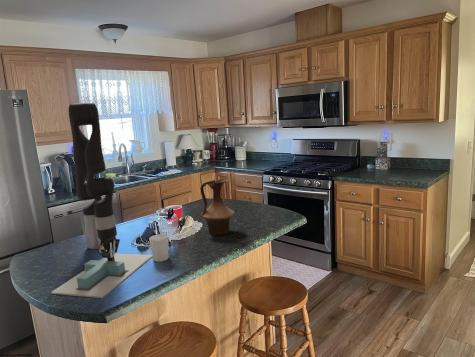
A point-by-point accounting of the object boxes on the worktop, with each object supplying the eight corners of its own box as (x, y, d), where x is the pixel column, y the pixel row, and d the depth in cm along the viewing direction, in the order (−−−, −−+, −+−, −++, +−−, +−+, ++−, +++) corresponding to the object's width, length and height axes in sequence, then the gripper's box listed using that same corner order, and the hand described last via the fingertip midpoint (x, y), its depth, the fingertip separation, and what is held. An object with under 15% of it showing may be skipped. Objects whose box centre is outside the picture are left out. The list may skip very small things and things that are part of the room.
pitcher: (208, 240, 181) (203, 184, 176) (197, 230, 196) (192, 179, 191) (240, 233, 188) (237, 179, 182) (228, 224, 203) (224, 174, 198)
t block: (64, 287, 140) (63, 277, 139) (91, 269, 155) (90, 260, 154) (101, 290, 135) (99, 280, 135) (125, 271, 150) (124, 261, 150)
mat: (51, 293, 137) (51, 292, 136) (110, 254, 171) (110, 253, 171) (102, 298, 131) (102, 296, 130) (152, 256, 165) (152, 255, 165)
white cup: (154, 264, 157) (151, 241, 155) (149, 258, 164) (147, 236, 162) (172, 259, 160) (169, 237, 159) (166, 253, 167) (164, 232, 166)
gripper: (107, 220, 158) (113, 258, 162) (87, 231, 146) (94, 271, 149) (123, 220, 156) (128, 258, 160) (104, 231, 144) (110, 272, 147)
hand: (111, 265), depth 154 cm, fingers closed
